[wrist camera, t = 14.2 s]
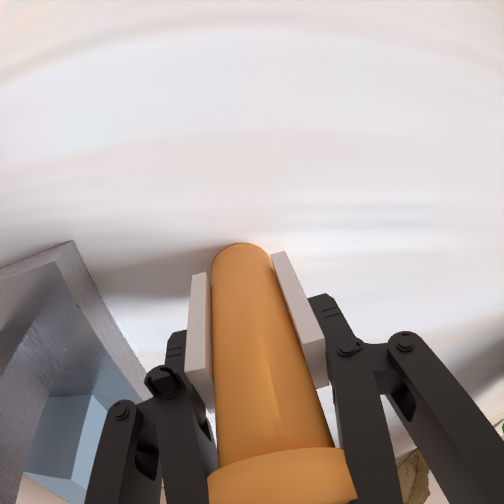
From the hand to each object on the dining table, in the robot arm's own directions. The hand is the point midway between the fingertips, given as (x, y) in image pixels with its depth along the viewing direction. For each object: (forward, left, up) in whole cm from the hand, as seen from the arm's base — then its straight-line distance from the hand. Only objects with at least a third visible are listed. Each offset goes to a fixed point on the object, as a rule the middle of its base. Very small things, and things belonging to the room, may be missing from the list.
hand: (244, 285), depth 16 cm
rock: (+7, +47, -2) cm, 48 cm away
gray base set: (+17, -1, -2) cm, 17 cm away
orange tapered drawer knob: (0, 0, -2) cm, 2 cm away
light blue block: (+17, 0, +1) cm, 17 cm away
